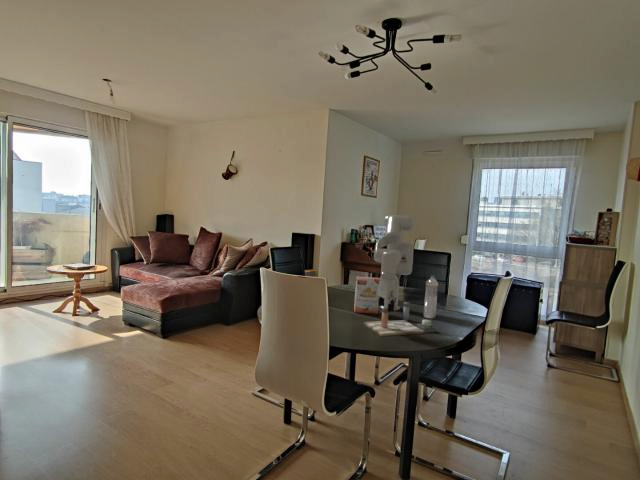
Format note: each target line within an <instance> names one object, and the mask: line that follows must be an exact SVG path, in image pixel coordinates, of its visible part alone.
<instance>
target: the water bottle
mask: <svg viewBox="0 0 640 480" xmlns="http://www.w3.org/2000/svg"><path fill="white" fill-rule="evenodd" d="M438 286H439V283H438V281H437V279H436V278H435V275H432V274H431V275H430V278H429V279H427V280H426V282H425V293H424V294H425V295H424V302H423V303H424V304H423V317H424V318H426V319H428V320H431V319H432V320H433V319H436V313H437V312H436V311H437V303H438V301H437V300H438Z"/></svg>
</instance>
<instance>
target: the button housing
mask: <svg viewBox="0 0 640 480" xmlns="http://www.w3.org/2000/svg"><path fill="white" fill-rule="evenodd" d="M416 327H417V328H419V329H421V330H423V331H424V332H425V333H427V334H428V333H436V332H437V327H436V326H434V325H432V324H431V327H424V326H422V322H420V323H416ZM425 333H424V334H425Z"/></svg>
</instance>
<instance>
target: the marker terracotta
mask: <svg viewBox="0 0 640 480" xmlns="http://www.w3.org/2000/svg"><path fill="white" fill-rule="evenodd" d="M388 321H389V312H388V308H387V307H382V308H381V327H382V328H387V326H388Z"/></svg>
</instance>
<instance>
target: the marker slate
mask: <svg viewBox="0 0 640 480" xmlns="http://www.w3.org/2000/svg"><path fill="white" fill-rule="evenodd" d="M410 308H411V303H410V302H409V301H408V302H407V301H405V302H403V309H402V310H403V312H402V320H405V321H406V322H408V321H409V319H410V318H409V317H410Z"/></svg>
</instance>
